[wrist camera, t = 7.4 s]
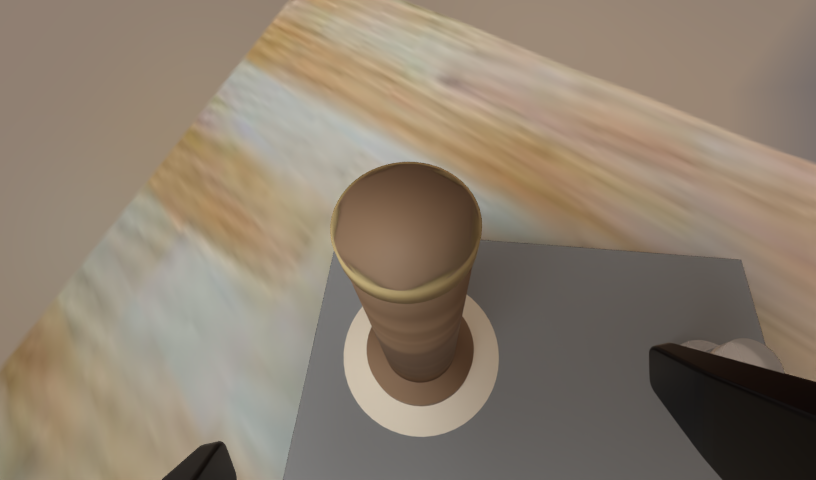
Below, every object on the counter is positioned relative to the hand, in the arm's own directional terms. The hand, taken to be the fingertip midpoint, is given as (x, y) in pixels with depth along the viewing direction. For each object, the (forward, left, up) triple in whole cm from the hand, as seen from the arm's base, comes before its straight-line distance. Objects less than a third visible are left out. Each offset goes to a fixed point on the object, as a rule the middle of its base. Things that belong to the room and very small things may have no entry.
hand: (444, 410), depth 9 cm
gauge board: (+3, -4, -11) cm, 12 cm away
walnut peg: (+3, +1, -10) cm, 10 cm away
